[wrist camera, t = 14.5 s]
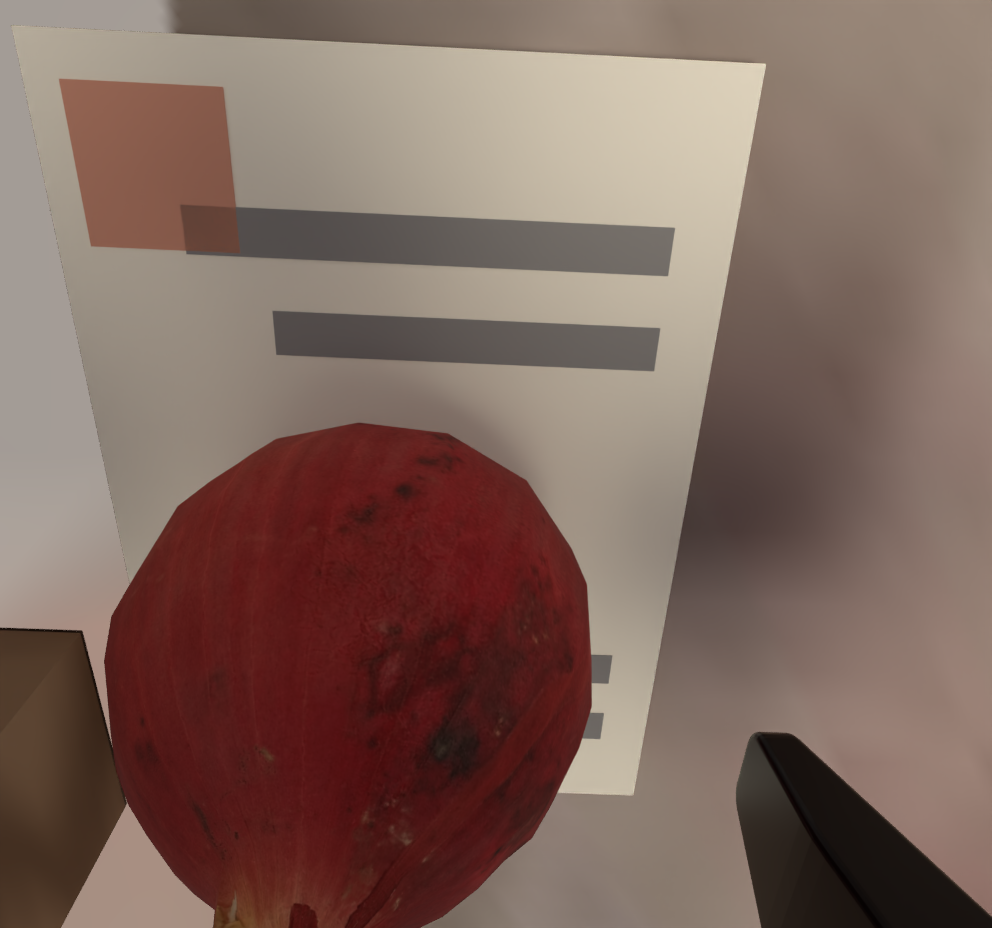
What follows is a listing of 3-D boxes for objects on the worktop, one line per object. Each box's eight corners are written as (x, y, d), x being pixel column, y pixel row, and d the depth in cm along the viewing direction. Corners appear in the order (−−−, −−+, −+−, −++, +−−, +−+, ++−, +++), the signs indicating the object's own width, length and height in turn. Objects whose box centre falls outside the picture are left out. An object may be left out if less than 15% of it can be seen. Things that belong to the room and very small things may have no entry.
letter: (630, 779, 16) (633, 795, 16) (178, 764, 16) (170, 780, 16) (756, 65, 10) (766, 64, 10) (28, 27, 10) (10, 25, 10)
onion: (444, 276, 11) (350, 598, 4) (624, 548, 13) (782, 1083, 6) (160, 463, 12) (-303, 959, 5) (365, 682, 14) (240, 1247, 7)
